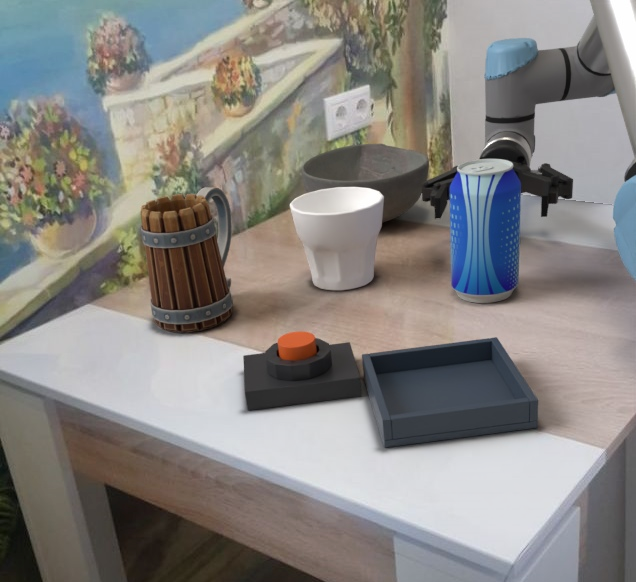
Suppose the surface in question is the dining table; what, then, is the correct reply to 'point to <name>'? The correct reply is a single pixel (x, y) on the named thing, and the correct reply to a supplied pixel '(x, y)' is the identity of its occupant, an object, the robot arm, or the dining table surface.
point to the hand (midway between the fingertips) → (490, 207)
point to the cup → (339, 234)
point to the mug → (188, 260)
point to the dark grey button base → (301, 377)
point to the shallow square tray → (447, 392)
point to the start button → (297, 346)
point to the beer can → (485, 230)
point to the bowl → (371, 173)
